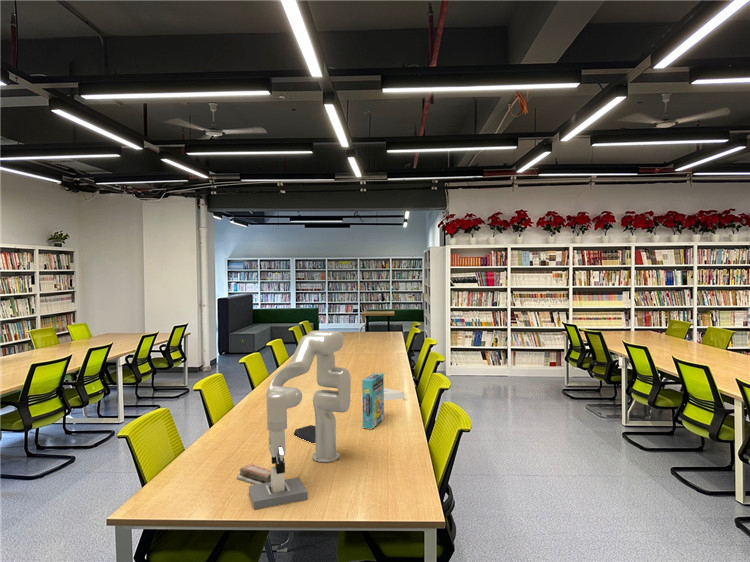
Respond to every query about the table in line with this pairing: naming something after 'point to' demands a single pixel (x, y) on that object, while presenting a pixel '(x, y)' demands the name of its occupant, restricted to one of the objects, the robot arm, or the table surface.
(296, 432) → the black angular slab
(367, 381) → the game box
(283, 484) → the charger plug
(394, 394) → the triangle block
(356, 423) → the table surface
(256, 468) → the packaged product
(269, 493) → the plate
